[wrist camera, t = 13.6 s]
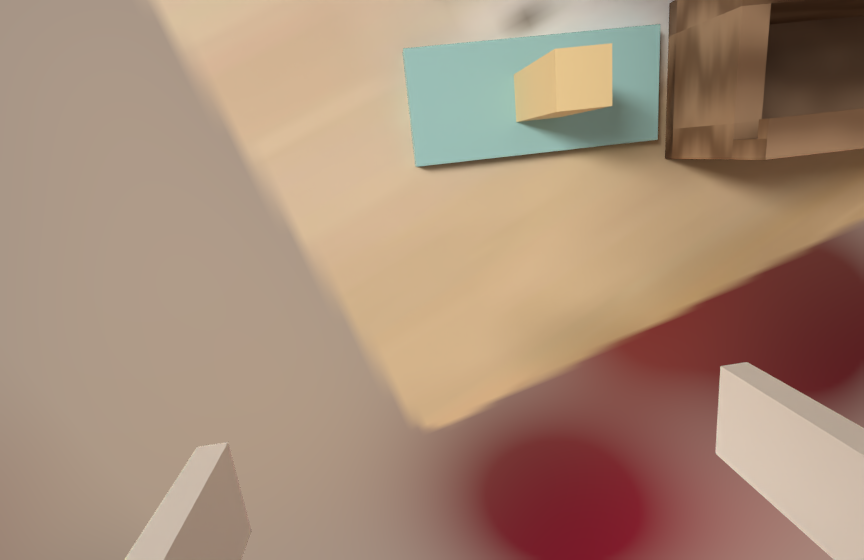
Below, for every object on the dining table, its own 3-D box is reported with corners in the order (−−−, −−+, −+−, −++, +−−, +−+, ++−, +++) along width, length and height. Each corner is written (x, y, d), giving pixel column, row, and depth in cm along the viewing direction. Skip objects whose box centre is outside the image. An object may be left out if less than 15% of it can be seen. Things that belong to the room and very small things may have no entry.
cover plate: (402, 53, 36) (409, 13, 26) (647, 30, 38) (747, -18, 27) (415, 166, 39) (426, 169, 28) (645, 140, 40) (737, 135, 30)
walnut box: (669, 3, 37) (783, -58, 26) (935, -21, 38) (1143, -88, 28) (665, 158, 40) (765, 159, 30) (910, 130, 42) (1089, 122, 31)
